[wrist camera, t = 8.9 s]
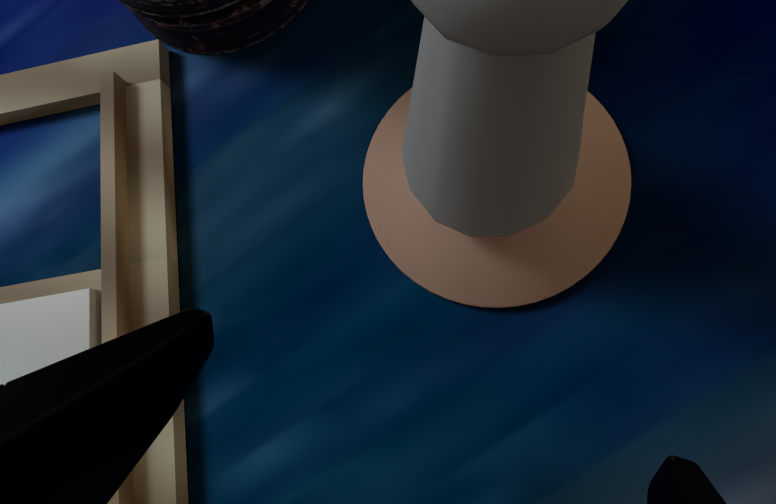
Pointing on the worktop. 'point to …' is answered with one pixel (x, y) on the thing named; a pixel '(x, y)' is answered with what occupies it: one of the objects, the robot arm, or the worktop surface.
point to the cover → (47, 330)
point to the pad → (500, 254)
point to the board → (121, 216)
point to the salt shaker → (499, 109)
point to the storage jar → (214, 22)
